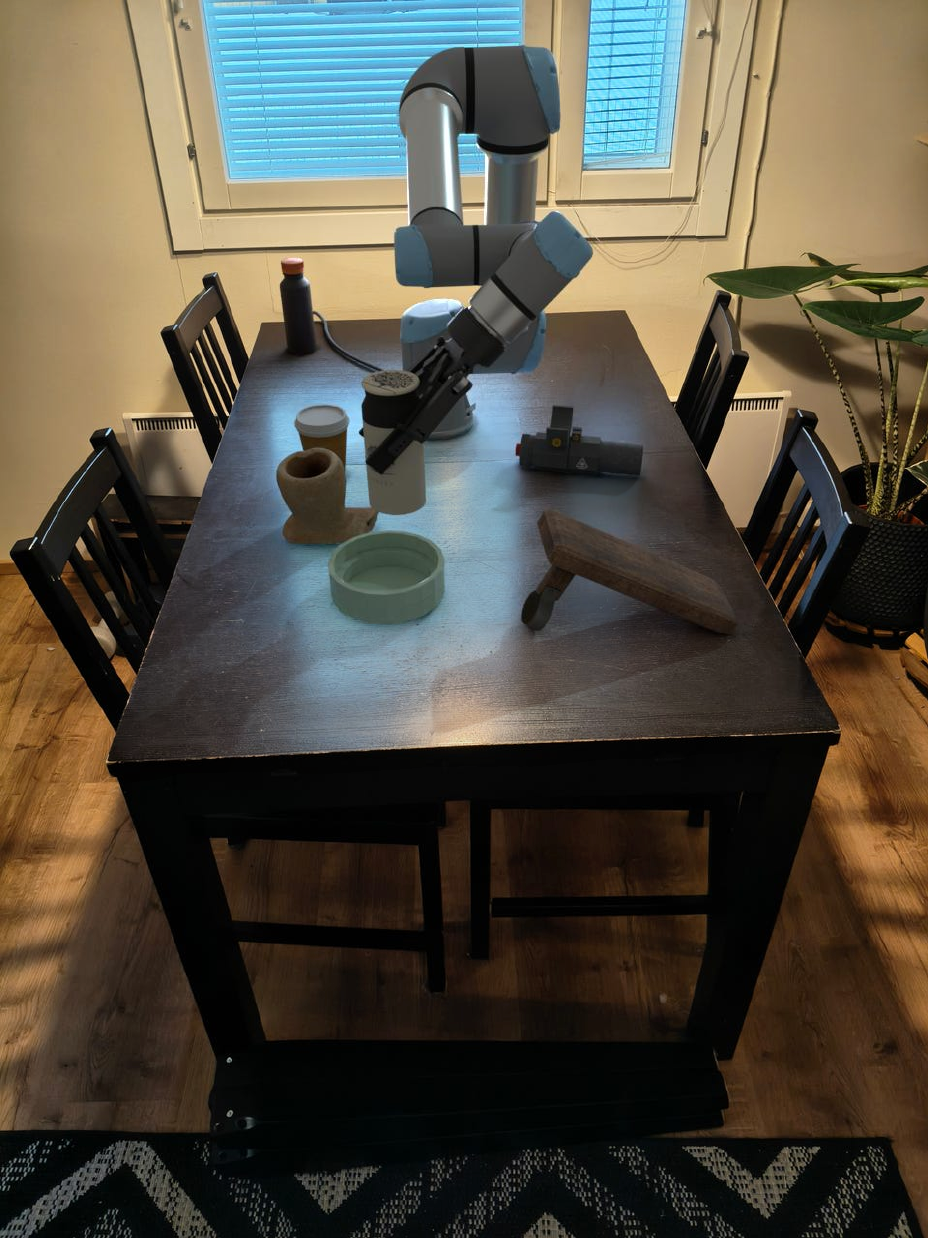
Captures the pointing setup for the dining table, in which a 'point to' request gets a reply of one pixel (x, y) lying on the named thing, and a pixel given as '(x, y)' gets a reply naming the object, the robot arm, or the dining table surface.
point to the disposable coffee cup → (323, 429)
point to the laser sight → (576, 449)
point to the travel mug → (381, 411)
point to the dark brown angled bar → (621, 575)
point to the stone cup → (319, 500)
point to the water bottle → (297, 307)
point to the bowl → (386, 577)
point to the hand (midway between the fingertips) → (369, 452)
